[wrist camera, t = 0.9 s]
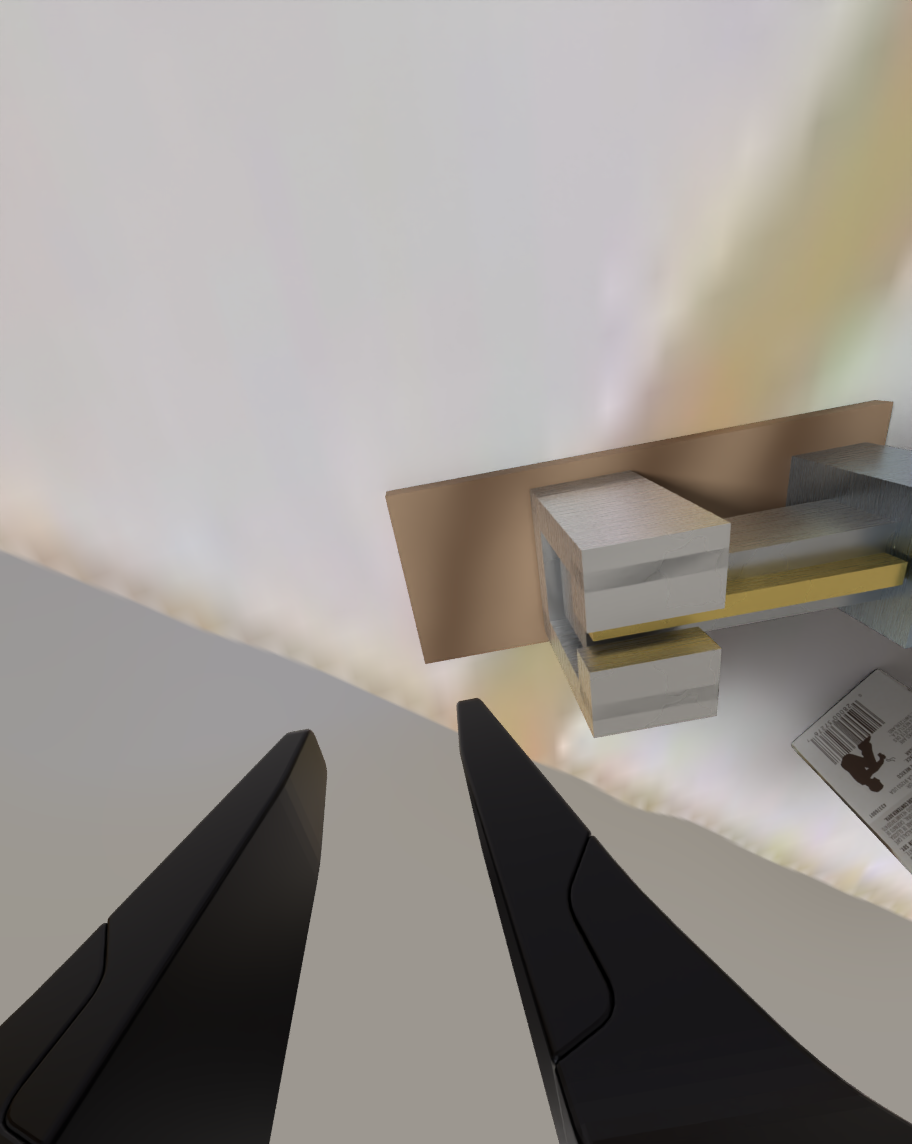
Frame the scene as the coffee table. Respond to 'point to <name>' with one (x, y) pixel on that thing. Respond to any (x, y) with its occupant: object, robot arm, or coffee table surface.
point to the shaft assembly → (813, 550)
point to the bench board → (502, 498)
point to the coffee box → (869, 758)
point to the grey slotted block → (632, 597)
